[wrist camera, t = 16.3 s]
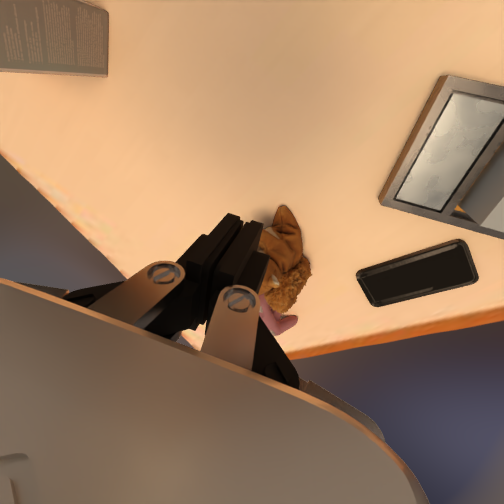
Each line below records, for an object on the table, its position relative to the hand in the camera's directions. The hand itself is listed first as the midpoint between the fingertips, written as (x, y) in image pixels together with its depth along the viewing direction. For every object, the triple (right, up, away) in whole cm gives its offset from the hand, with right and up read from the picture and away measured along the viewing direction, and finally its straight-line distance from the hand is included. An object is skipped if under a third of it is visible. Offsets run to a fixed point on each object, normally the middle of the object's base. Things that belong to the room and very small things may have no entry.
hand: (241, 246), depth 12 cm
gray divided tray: (+30, +9, +18) cm, 36 cm away
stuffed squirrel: (+6, +1, +31) cm, 32 cm away
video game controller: (+6, -10, +38) cm, 40 cm away
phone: (+26, -4, +28) cm, 38 cm away
